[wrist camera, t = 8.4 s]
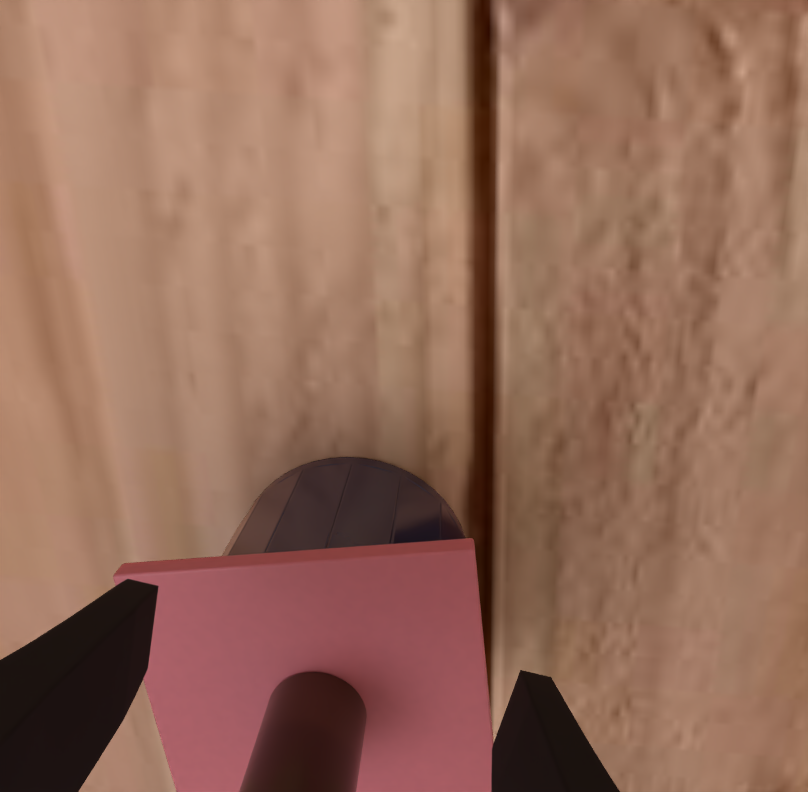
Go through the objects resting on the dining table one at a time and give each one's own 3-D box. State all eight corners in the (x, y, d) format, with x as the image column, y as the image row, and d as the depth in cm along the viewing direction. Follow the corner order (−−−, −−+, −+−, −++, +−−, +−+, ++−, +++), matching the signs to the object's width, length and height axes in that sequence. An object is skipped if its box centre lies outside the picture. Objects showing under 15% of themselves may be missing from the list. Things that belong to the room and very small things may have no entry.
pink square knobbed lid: (499, 811, 19) (514, 979, 15) (197, 822, 20) (136, 984, 16) (473, 536, 16) (482, 655, 12) (122, 562, 17) (25, 680, 13)
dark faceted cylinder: (437, 678, 26) (434, 838, 20) (224, 628, 26) (154, 774, 19) (497, 488, 23) (516, 605, 17) (258, 431, 23) (190, 528, 17)
